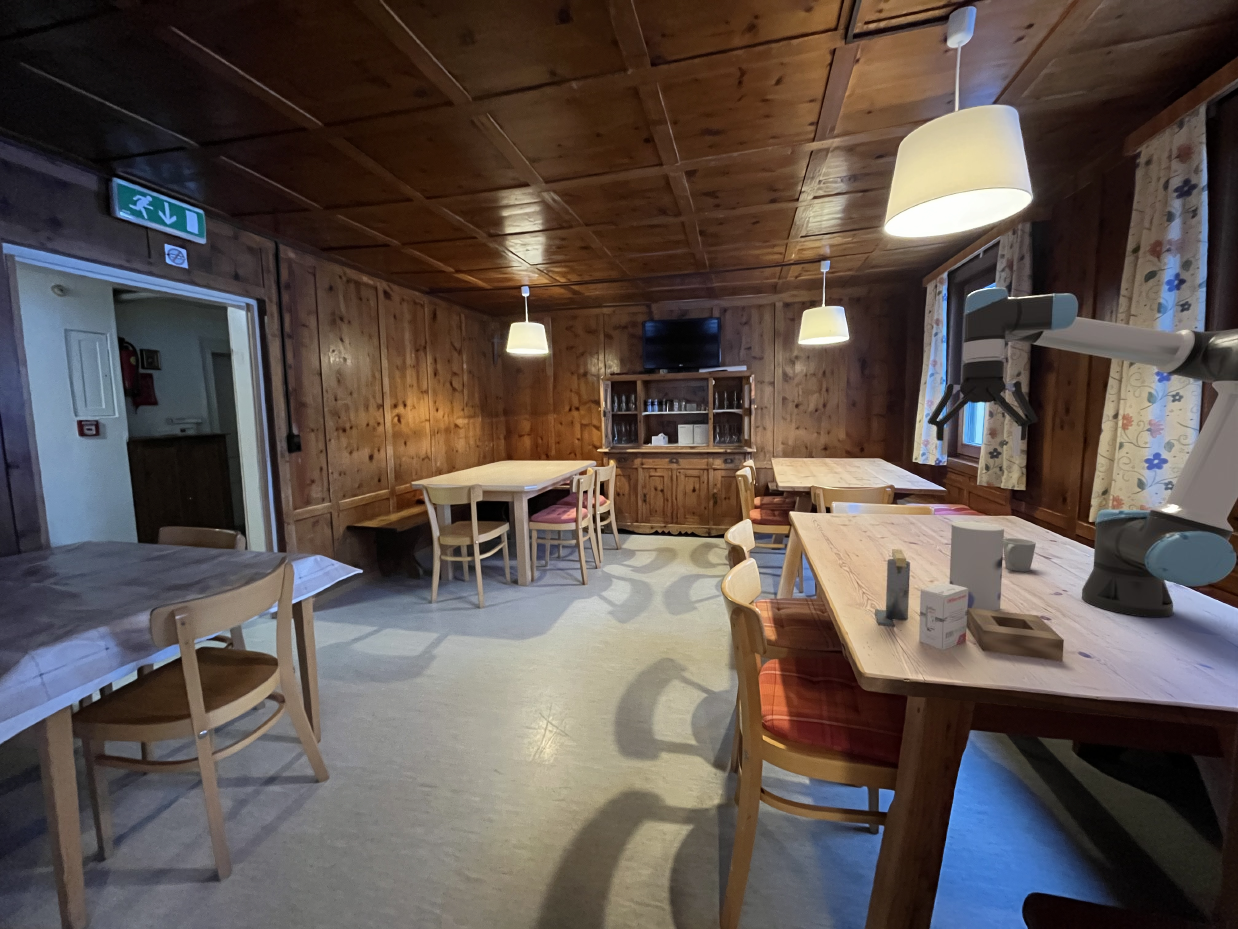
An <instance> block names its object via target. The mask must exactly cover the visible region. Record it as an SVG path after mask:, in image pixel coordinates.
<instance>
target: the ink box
mask: <svg viewBox="0 0 1238 929" xmlns="http://www.w3.org/2000/svg"><path fill="white" fill-rule="evenodd" d="M919 595H920V596H919V598H920V599H919V600H920V601H919V631H918V632H919V633H918V641H919V642H921V643H924V644H925V645H929V646H931V647H933V648H936V649H938V650H942V651H944V650H946V649H949V648H952V647H953V646H956V645H959V644H960V643H963V642H965V641H967V629H968V628H967V607H968V589H967V588H965V587H961V586H957V585H952V584H950V583H947V582H942V583H939V584H936V585H933V586H929V587H926V588H923V589H922V588H921V589H920V594H919Z"/></svg>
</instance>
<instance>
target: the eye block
mask: <svg viewBox="0 0 1238 929" xmlns="http://www.w3.org/2000/svg"><path fill="white" fill-rule="evenodd" d="M966 629H967V630H968V631H969V633H971V635H972V637H973V639H974V640H975V641H976V643H977V644H978V645H979V646H978V647H980V648H981V650H982V651H983V652H991V653H997V654H1004V655H1013V656H1019V657H1026V658H1027V657H1028V658H1033V659H1043V660H1048V661H1049V660H1051V661H1055V662H1063V659H1064V642H1065V640H1064V638H1062V637H1061V635H1059V634H1058V633H1057V632H1056V631H1055V630H1054V629H1053V628H1052V627H1051V626H1049V624H1048V623H1046V622H1045V621H1044V620H1043V619H1042V618H1041V617H1040V616H1039V615H1036V614H1030V613H1029V614H1027V613H1018V612H1009V611H1001V610H1000V611H999V610H996V611H992V610H982V609H973V608H967V628H966Z"/></svg>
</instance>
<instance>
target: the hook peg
mask: <svg viewBox="0 0 1238 929" xmlns="http://www.w3.org/2000/svg"><path fill="white" fill-rule="evenodd" d="M891 551H892V552H891V558H889V559H887V564H886V567H887V568H886V592H885V598H886V599H885V610H886V618H888V619H890V620H893V621H894V620H895V621H906V620H908V619H909V601H910V600H909V599H910V580H911V579H910V577H911V576H910V574H911V562H910V561H908V560H907V558H906V556H905V553H904V552H903V550H902V549H899V548H898V549H897V548H892V549H891Z"/></svg>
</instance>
